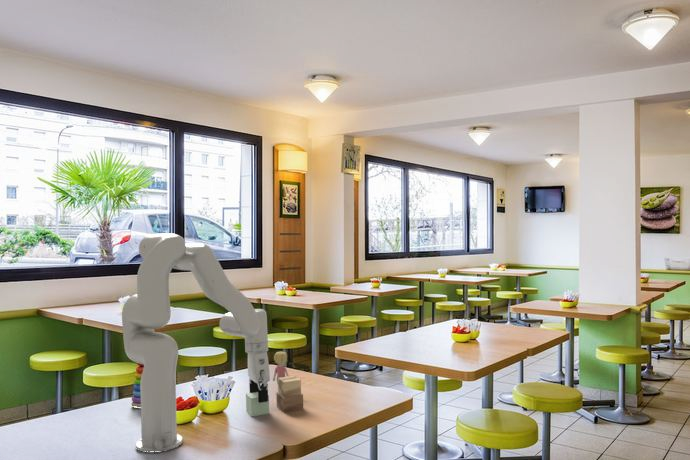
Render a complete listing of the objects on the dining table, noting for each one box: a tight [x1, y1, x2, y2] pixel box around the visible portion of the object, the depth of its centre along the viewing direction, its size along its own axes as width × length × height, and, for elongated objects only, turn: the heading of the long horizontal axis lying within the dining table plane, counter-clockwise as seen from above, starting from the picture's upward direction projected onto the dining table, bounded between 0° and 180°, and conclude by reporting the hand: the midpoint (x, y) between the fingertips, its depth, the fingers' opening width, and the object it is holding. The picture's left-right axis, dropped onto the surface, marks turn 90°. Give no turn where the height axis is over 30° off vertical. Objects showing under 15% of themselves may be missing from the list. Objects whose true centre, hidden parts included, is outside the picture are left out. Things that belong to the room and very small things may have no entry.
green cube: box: [245, 392, 270, 417], centre depth 184 cm, size 6×6×6 cm
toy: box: [272, 351, 290, 385], centre depth 208 cm, size 7×5×15 cm
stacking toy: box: [130, 363, 144, 407], centre depth 194 cm, size 8×8×19 cm
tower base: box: [275, 391, 304, 413], centre depth 188 cm, size 7×7×5 cm
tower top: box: [277, 375, 302, 397], centre depth 188 cm, size 6×6×5 cm
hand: (258, 397), depth 185 cm, fingers open, 9 cm apart
